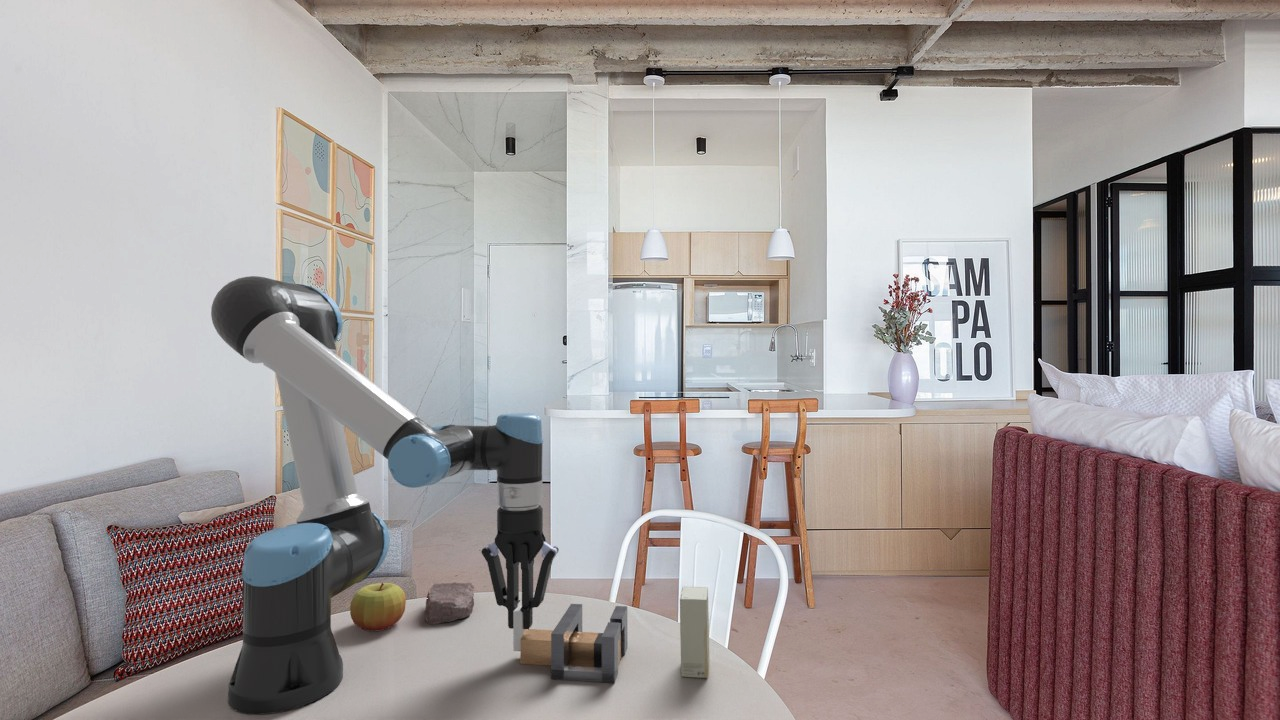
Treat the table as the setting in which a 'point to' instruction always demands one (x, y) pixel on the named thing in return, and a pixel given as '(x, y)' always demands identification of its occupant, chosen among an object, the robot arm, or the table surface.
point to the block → (581, 648)
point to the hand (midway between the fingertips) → (520, 647)
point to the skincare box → (694, 632)
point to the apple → (377, 606)
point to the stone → (449, 602)
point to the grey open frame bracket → (609, 647)
